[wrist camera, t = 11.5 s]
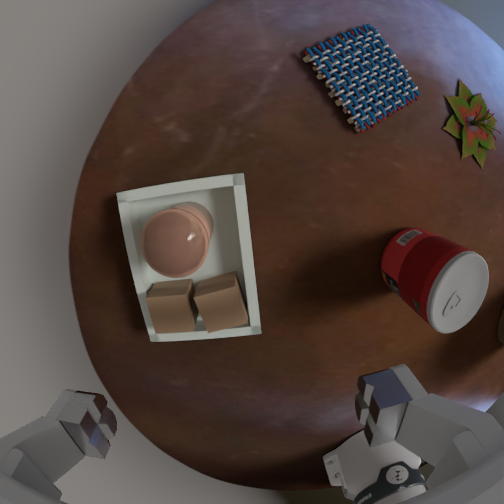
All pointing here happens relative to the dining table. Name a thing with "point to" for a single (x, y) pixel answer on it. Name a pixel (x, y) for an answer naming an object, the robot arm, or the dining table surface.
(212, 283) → the block
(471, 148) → the lily flower
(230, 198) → the tray
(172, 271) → the pink lidded jar
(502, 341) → the wooden container
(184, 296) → the block
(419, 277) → the canned food
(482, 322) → the dining table surface
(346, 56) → the woven mat
